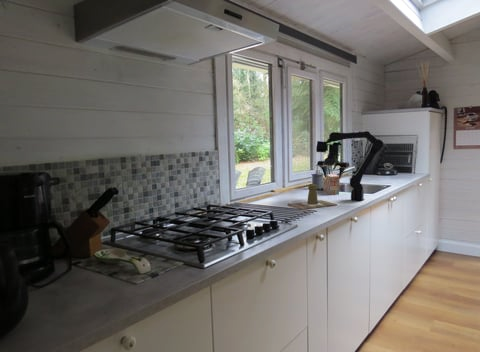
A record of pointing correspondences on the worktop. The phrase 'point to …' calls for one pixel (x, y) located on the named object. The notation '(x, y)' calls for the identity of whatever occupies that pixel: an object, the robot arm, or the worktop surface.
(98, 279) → the worktop surface
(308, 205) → the baseplate
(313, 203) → the pepper mill
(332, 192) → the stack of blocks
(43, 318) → the worktop surface
